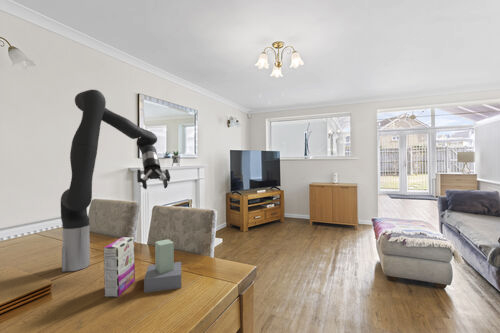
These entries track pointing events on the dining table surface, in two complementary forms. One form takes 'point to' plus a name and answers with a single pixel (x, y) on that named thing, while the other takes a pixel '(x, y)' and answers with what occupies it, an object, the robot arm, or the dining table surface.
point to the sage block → (164, 256)
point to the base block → (162, 279)
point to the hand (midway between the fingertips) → (156, 187)
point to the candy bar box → (119, 266)
